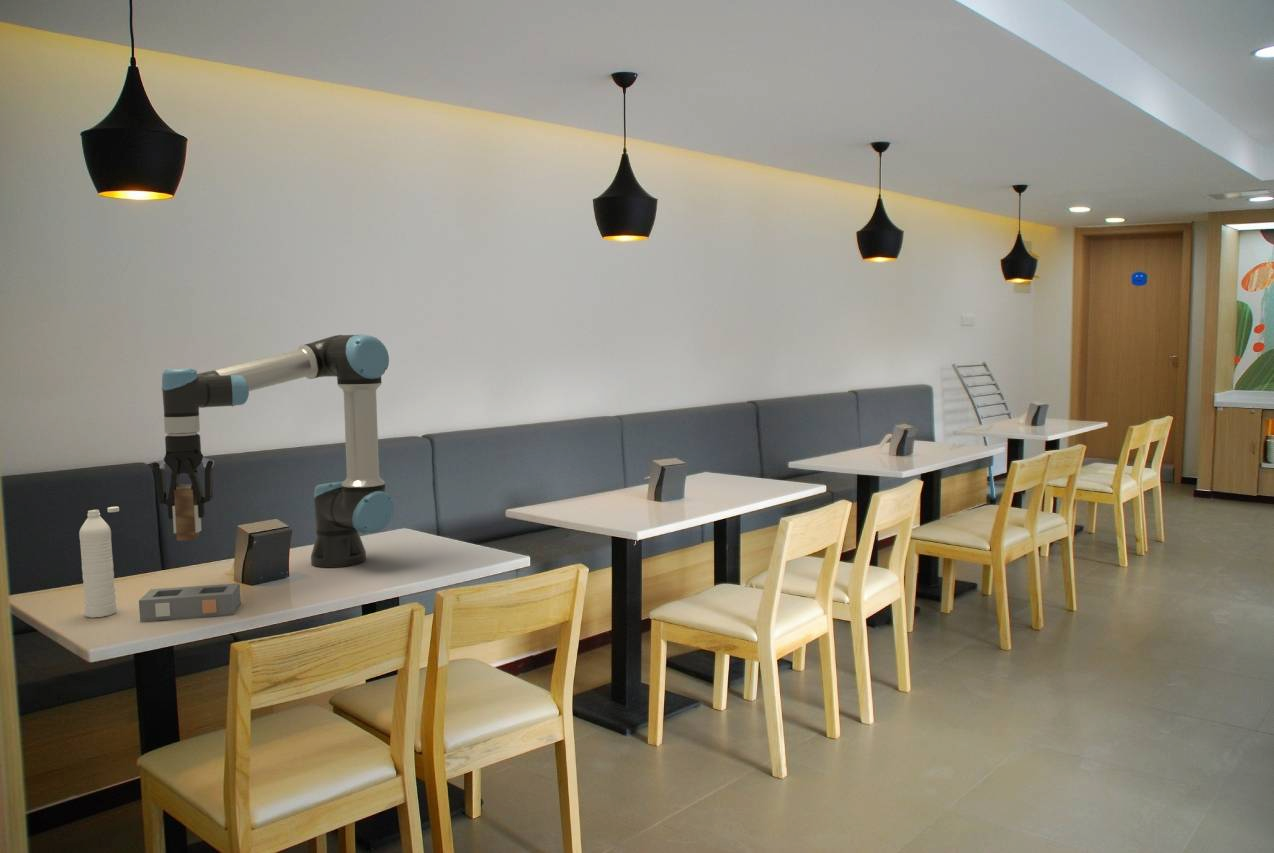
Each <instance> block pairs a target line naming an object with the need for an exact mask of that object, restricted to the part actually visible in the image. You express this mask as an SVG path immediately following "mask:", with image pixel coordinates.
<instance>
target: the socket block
mask: <svg viewBox="0 0 1274 853" xmlns="http://www.w3.org/2000/svg"><path fill="white" fill-rule="evenodd" d="M241 599H242V598H241V584H240V582H239V583H237V582H235V583H224V584H222V583H221V584H208V585H195V586H178V587H166V588H151V589H149V590H148V591H147V592H146V593H145V594H144V595H143V596H142V597H141V598H139V600H138V611H139V622H141V623H143V622H155V621H167V620H169V621H170V620H181V619H182V620H183V619H184V620H185V619H195V618H197V619H198V618H207V617H208V618H209V617H221V616H222V617H224V616H233V615H234V614H235V612H236V611H237V609H238V608H239V606H240V605H241Z"/></svg>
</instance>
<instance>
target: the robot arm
mask: <svg viewBox="0 0 1274 853" xmlns="http://www.w3.org/2000/svg"><path fill="white" fill-rule="evenodd" d="M389 364H390V357H389V352H388V349H387V347H386V345H385V344H384V343H383V342H382V341H381V340H380V339H379V338H377V337H376V336H375V337H374V336H373V335H369V334H361V333H360V334H338V335H331V336H329V337H326V338H323V339H320V340H315V341H313V342H309V343H306V344H302V345H300V346H298V348H297V349H296V350H291V351H288V352H284V353H280V354H277V355H276V354H275V355H271V356H267V357H264V358H259V359H255V360H250V361H246V362H242V363H237V364H233V365H229V366H226V367H221V368H217V369H213V370H210V371H209V370H207V371H205V372H199V373H198V371H197V369H195V368H167V369H165V370H164V371H163V372H162V376H161V391H162V404H163V405H162V406H163V421H164V422H163V424H164V425H163V426H164V434H167V435H165V436H164V441H165V442H164V443H165V445H164V446H165V454H164V458H163V459H161V460H157V461H154V462H153V463H152V467H153V470H154V471H155V474H156V475H155V476H156V485H157V487H156V488H157V496H158V497H157V498H158V503H159V504H160V505H161V504H163V505H165V506H167V516H168V519H169V520H172V524H173V534H176V516H175V498H174V490H176V486H178V485H180V484H179V482H180V477H181V475H182V474H188V477H189V479H190V483H191V484H192V486H193V490H194V494H195V497H196V501H197V503H196V504H195V505H194V518H195V533H196V532H199V533H200V532H201V531H202V518H205V515H206V507H205V506H206V504H207V503H208V502H210V501H212V500H213V498H214V497H213V496H214V494H213V493H214V492H213V489H214V486H213V482H214V481H213V480H214V479H213V476H214V475H213V474H214V473H213V468H214V465H215V463H216V460H215V459H209V458H207V457H204V455H203V453H202V443H201V435H200V434H199V432H200V431H201V429H200V428H201V426H200V408H213V407H218V408H219V407H234V406H242V405H245V404H246V403H247V401H248V399H249V395H250V392H251V391H255V390H259V389H263V388H268V387H271V386H275V385H280V384H284V383H287V382H290V381H291V382H292V381H295V380H298V379H301V378H307V379H308V380H314V379H316V378H324V377H325V378H326V377H336V380H337V386H338V387H339V388H340V389H341V390H342V392H343V410H344V433H345V434H344V436H345V437H344V438H345V459H346V460H345V461H346V462H345V464H346V466H345V467H346V478H345V480H343V481H342V480H341V481H335V482H329V483H328V482H327V483H321V484H318V485H315V487H314V492H313V500H314V514H315V515H314V516H315V518H314V520H315V532H316V533H315V535H316V536H315V540H314V544H313V549H312V552H311V555H310V564H311V565H312V566H314V567H319V568H342V567H349V566H355V565H358V564H360V563H363V562H365V561H366V560H367V551H366V548H365V546H364V543H363V540H362V538H361V536H360V533H363V534H366V533H370V534H373V533H377V532H378V533H379V532H381V531H382V530H384V529H385V528H386V527H387V526H388V524H389V523H390V522H391V521H392V518H393V516H394V513H395V504H394V500H393V499H392V497H391V496H390V495H389V494H388V493H387V492H386V482H385V480H384V479H383V478H382V477H381V476H380V464H379V463H380V462H379V461H380V460H379V459H380V458H379V434H378V432H379V431H378V430H379V429H378V411H377V409H378V408H377V407H378V405H377V390H378V388H379V387H380V386H381V385H382V376H383V375H384V374H385V372H386V371H387V370H388V368H389ZM201 463H202V464H203V466H202V467H203V468H204V492H203V489H202V485H201V481H200V478H199V471H198V468H199V467H200V465H201ZM166 465H167V466H168V468H169V469H170V470H171V475H170V477H171V479H170V483H169V484H170V485H169V490H168V491H167V485H166V484H167V482H166V473H165V468H166ZM167 492H168V494H167ZM167 495H168V496H167Z"/></svg>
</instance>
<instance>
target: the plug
mask: <svg viewBox="0 0 1274 853" xmlns="http://www.w3.org/2000/svg"><path fill="white" fill-rule="evenodd" d="M174 498H175V516H176V533H175V535H176V541H195V540H197V539H198V538H199V537H200V532H196V533H195V518H194V505H195V504H196V503H197V501H196V497H195V494H194V490H193V486H192V483H191V484H189V483H188V484H178V486H176V490H174Z"/></svg>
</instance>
